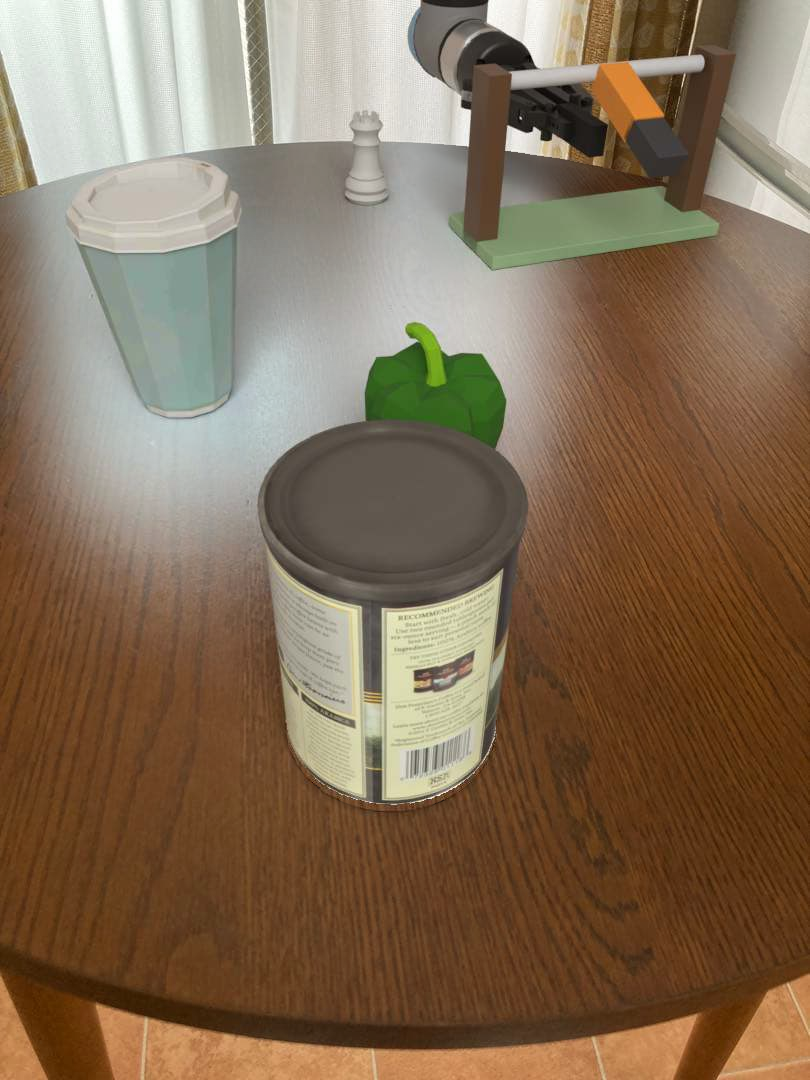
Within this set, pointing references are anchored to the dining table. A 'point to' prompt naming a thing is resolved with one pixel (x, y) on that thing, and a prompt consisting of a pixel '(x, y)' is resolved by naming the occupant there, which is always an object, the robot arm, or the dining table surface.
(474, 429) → the bell pepper
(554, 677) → the dining table surface
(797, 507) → the dining table surface
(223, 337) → the disposable coffee cup
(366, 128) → the rook chess piece
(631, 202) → the foosball stand
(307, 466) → the coffee can
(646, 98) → the foosball rod
